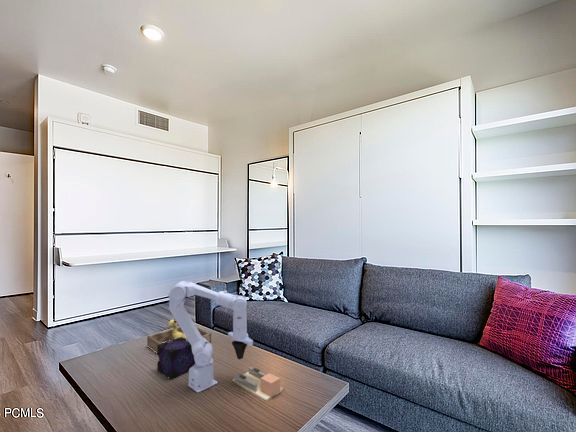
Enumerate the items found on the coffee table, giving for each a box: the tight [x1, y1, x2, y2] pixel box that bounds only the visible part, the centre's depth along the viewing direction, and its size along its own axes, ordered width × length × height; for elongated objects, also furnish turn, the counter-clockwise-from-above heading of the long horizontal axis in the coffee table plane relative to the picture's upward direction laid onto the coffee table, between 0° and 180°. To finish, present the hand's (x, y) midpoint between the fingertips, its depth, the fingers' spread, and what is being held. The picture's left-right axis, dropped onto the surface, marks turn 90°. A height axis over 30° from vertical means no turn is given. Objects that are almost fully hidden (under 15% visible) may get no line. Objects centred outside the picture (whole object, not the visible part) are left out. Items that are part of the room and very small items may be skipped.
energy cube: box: [156, 337, 195, 380], centre depth 137 cm, size 12×12×12 cm
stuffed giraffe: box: [166, 317, 188, 343], centre depth 163 cm, size 16×18×16 cm
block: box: [261, 373, 281, 398], centre depth 118 cm, size 5×6×5 cm
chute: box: [231, 366, 285, 402], centre depth 123 cm, size 10×21×4 cm, turn 48°
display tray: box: [146, 326, 212, 352], centre depth 163 cm, size 25×23×6 cm
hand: (240, 358), depth 126 cm, fingers closed
